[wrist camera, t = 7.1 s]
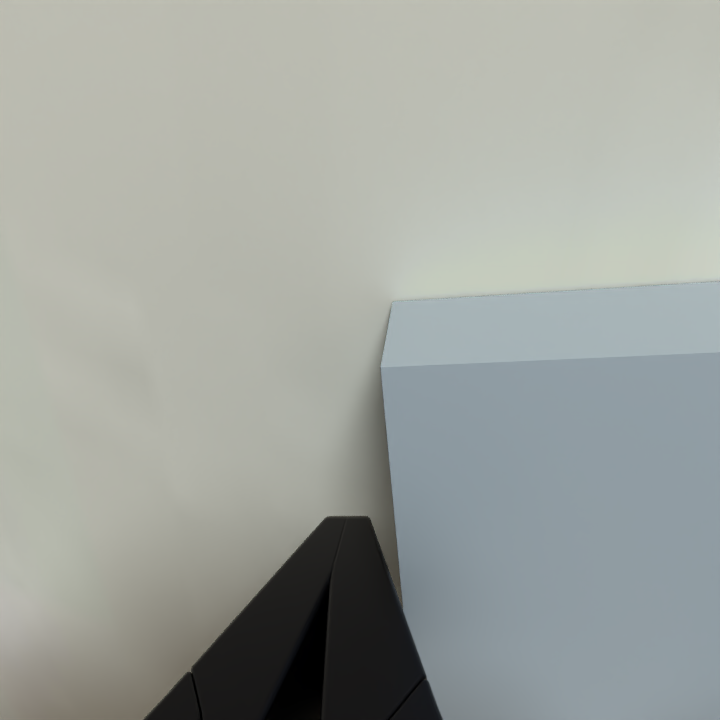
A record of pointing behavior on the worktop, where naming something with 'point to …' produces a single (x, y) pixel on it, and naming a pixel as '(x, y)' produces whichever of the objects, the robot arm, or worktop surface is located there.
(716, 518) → the pale blue eraser
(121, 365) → the worktop surface
